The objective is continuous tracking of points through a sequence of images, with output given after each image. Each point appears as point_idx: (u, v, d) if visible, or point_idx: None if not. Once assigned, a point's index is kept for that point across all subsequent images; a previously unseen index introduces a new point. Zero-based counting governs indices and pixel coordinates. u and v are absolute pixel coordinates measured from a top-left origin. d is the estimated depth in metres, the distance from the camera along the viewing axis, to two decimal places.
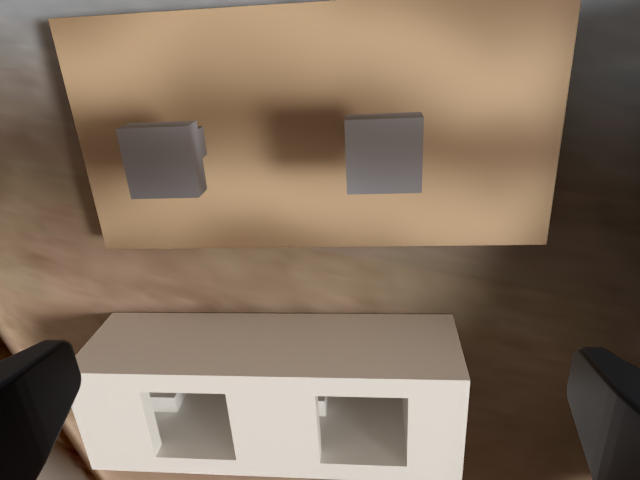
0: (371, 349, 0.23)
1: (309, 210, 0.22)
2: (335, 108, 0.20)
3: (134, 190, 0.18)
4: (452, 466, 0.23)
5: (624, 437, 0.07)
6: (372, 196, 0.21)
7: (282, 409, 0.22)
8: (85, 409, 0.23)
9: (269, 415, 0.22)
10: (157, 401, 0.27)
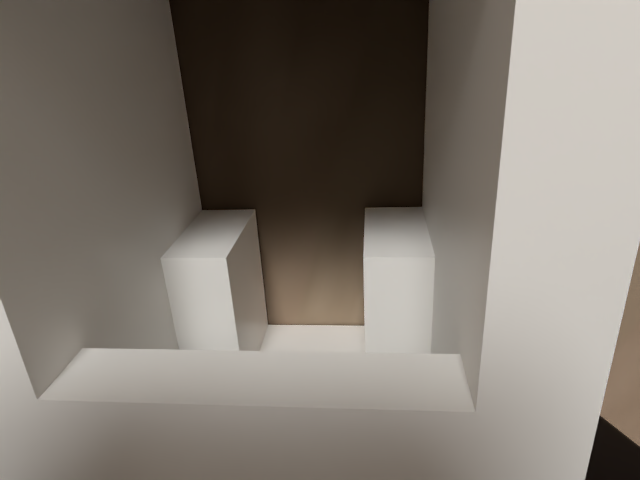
0: None
1: None
2: None
3: None
4: None
5: None
6: None
7: None
8: None
9: None
10: None
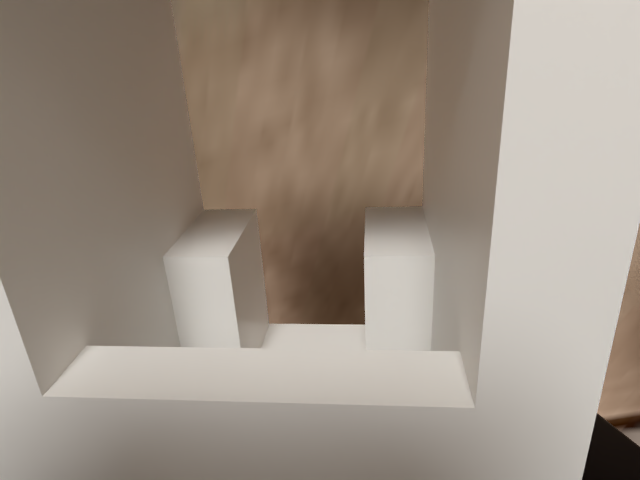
0: None
1: None
2: None
3: None
4: None
5: None
6: None
7: None
8: None
9: None
10: None
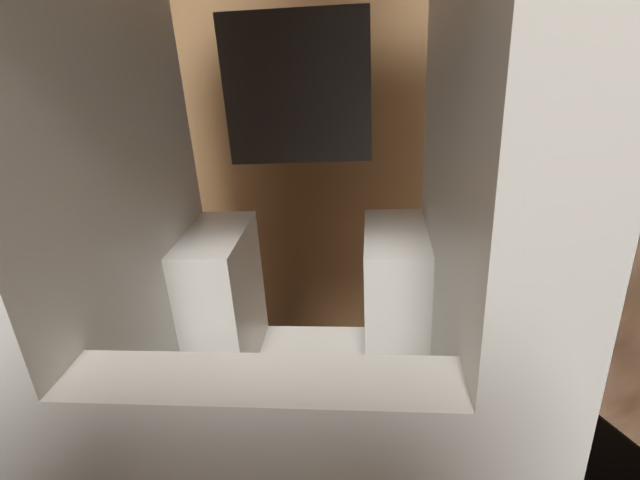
0: None
1: None
2: None
3: None
4: None
5: None
6: None
7: None
8: None
9: None
10: None
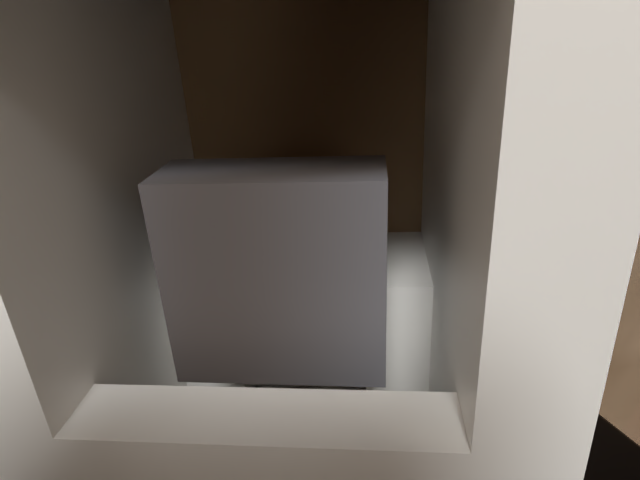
0: None
1: None
2: None
3: None
4: None
5: None
6: None
7: None
8: None
9: None
10: None
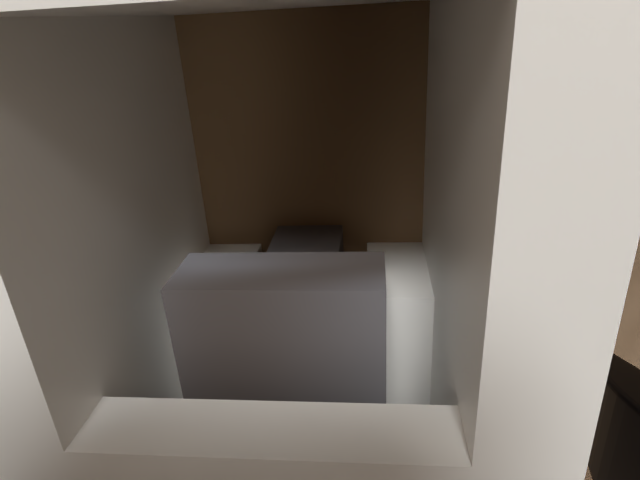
0: None
1: None
2: None
3: None
4: None
5: (624, 437, 0.07)
6: None
7: None
8: None
9: None
10: None
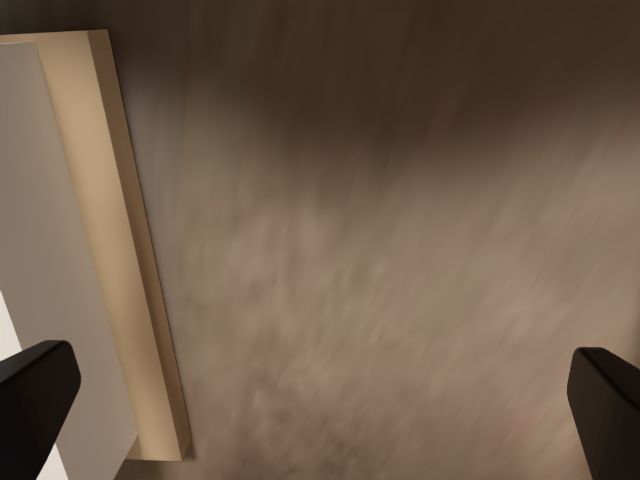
0: None
1: (104, 291, 0.21)
2: None
3: None
4: None
5: (624, 437, 0.07)
6: None
7: None
8: None
9: None
10: None
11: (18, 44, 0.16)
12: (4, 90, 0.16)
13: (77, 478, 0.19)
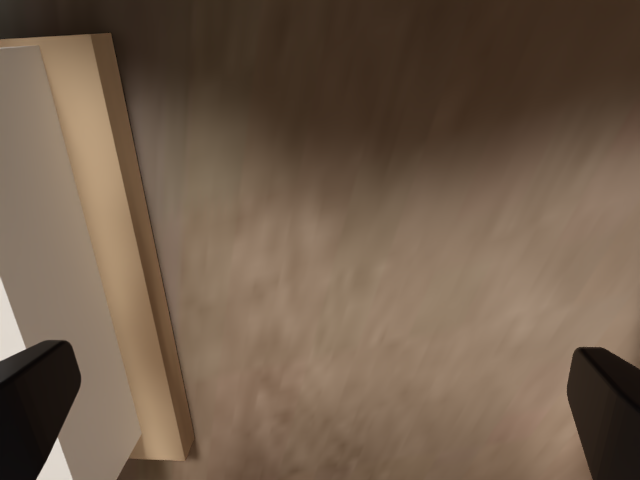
0: None
1: (108, 292, 0.21)
2: None
3: None
4: None
5: (624, 437, 0.07)
6: None
7: None
8: None
9: None
10: None
11: (23, 48, 0.17)
12: (9, 93, 0.16)
13: (81, 477, 0.20)
